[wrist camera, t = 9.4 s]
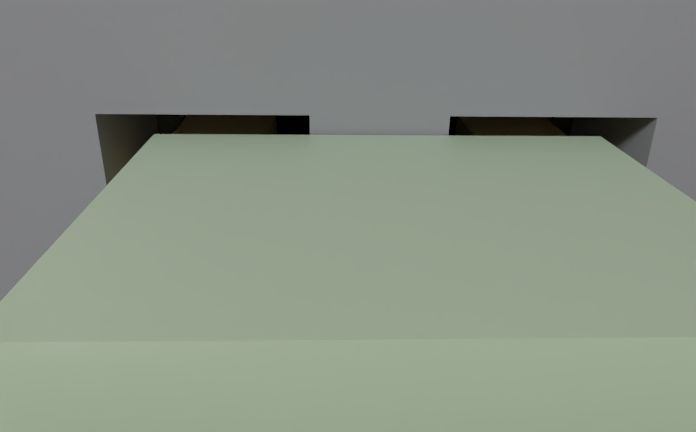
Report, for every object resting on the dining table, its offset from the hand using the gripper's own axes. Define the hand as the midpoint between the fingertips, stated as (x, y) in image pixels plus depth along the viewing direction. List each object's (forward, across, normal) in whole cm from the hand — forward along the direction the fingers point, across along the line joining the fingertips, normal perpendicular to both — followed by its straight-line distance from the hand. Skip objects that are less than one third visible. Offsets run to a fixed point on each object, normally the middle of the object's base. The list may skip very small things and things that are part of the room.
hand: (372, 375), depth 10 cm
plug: (+3, 0, 0) cm, 3 cm away
